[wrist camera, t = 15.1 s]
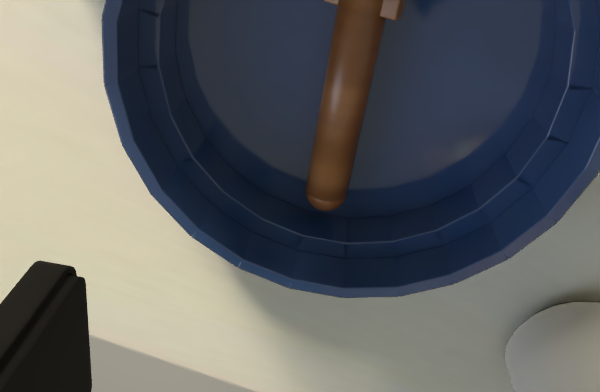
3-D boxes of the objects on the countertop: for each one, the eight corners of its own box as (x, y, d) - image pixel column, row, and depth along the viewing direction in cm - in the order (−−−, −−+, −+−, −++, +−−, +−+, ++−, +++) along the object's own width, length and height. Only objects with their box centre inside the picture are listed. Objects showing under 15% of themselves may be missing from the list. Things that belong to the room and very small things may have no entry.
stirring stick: (355, -109, 22) (333, -110, 21) (433, -94, 21) (417, -93, 20) (303, 188, 29) (284, 204, 28) (360, 211, 28) (344, 229, 27)
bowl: (148, -250, 21) (90, -277, 16) (678, -158, 20) (761, -162, 16) (145, 200, 31) (108, 256, 26) (501, 264, 30) (523, 331, 26)
